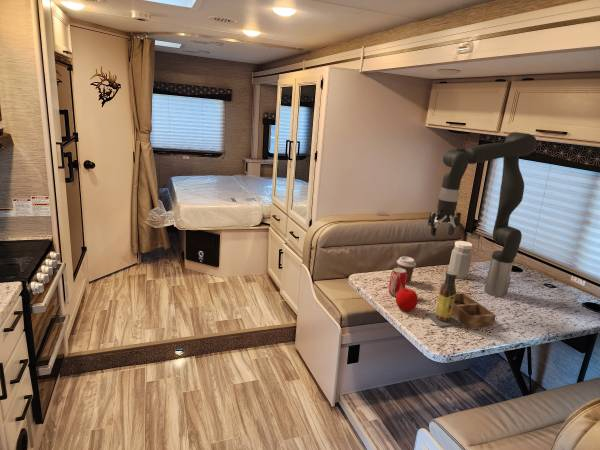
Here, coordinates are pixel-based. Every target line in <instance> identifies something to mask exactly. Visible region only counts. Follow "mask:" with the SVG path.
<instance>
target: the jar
mask: <svg viewBox="0 0 600 450" xmlns="http://www.w3.org/2000/svg"><path fill="white" fill-rule="evenodd" d="M472 249H473V244H472V243H471V242H469V241H465V240H456V241H455V242H454V247H453V249H452V251H451V254H450V261H449V265H448V269H447V271H452V272H455V273H456V274H457V277H456V279H460V280H462V279H463V280H464V279H466V278H467V277H468V276H469V273H470V272H469V271H470V267H471V262H472V258H473V253H472Z"/></svg>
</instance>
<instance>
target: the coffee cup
mask: <svg viewBox="0 0 600 450" xmlns="http://www.w3.org/2000/svg"><path fill="white" fill-rule="evenodd" d="M396 264H397V268H403V269H405V270H406V273H407V279H406V285H410V284H411V280H412V277H413V272H414V269H415V267H416V265H417V263H416V262H415V259H414V258H413V257H410V256H400V257H399V258H398V259H397V260H396Z"/></svg>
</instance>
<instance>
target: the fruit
mask: <svg viewBox="0 0 600 450" xmlns="http://www.w3.org/2000/svg"><path fill="white" fill-rule="evenodd" d="M418 300H419V297H418V295H417V292H415V290H413V289H410V288H408V287H407V286H405V289H401V290H400V291H399V292H398V293H397V295H396V296H395V303H396V306H397V307H398V309H400V310H402V311H404V312H405V311H406V312H410V311H413V310H414V309H415V308H416V307H417V306H418V303H419V301H418Z"/></svg>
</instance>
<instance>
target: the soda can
mask: <svg viewBox="0 0 600 450" xmlns="http://www.w3.org/2000/svg"><path fill="white" fill-rule="evenodd" d="M392 269H393V270H392V271H391V273H390V278H389V285H388V293H389V294H390V295H391V296H392V297H396V295H397V293H398V292H399V291H400V290H401V289H406V287H407V286H406V285H407V284H406V279H407V273H406V270H405V269H403V268H398V267H394V268H392Z"/></svg>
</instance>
